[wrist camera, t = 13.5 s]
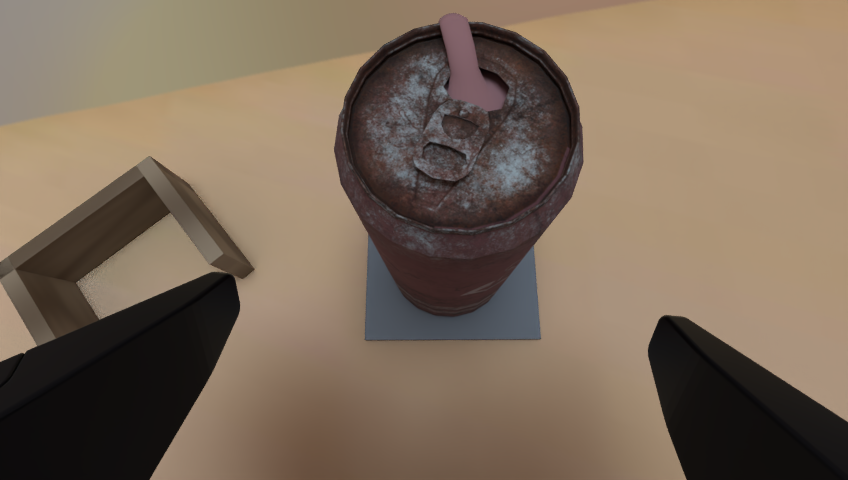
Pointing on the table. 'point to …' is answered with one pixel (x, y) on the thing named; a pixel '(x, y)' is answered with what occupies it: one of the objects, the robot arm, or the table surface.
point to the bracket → (106, 246)
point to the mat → (497, 319)
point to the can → (458, 157)
